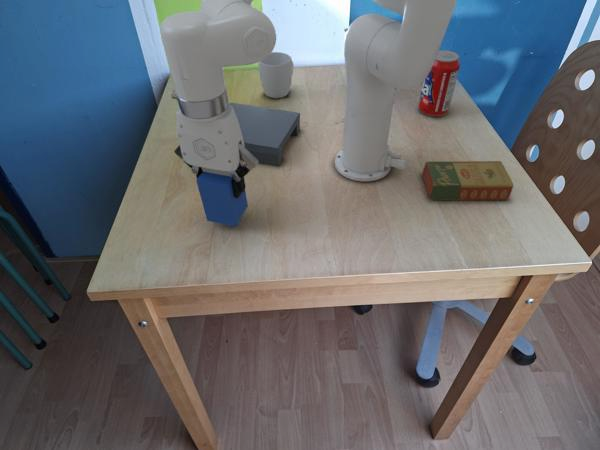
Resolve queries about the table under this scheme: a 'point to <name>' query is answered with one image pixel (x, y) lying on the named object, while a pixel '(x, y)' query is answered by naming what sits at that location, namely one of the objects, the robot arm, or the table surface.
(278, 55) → the mug
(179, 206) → the table surface
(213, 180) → the blue milk carton
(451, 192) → the carton
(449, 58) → the soda can
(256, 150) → the riser board
